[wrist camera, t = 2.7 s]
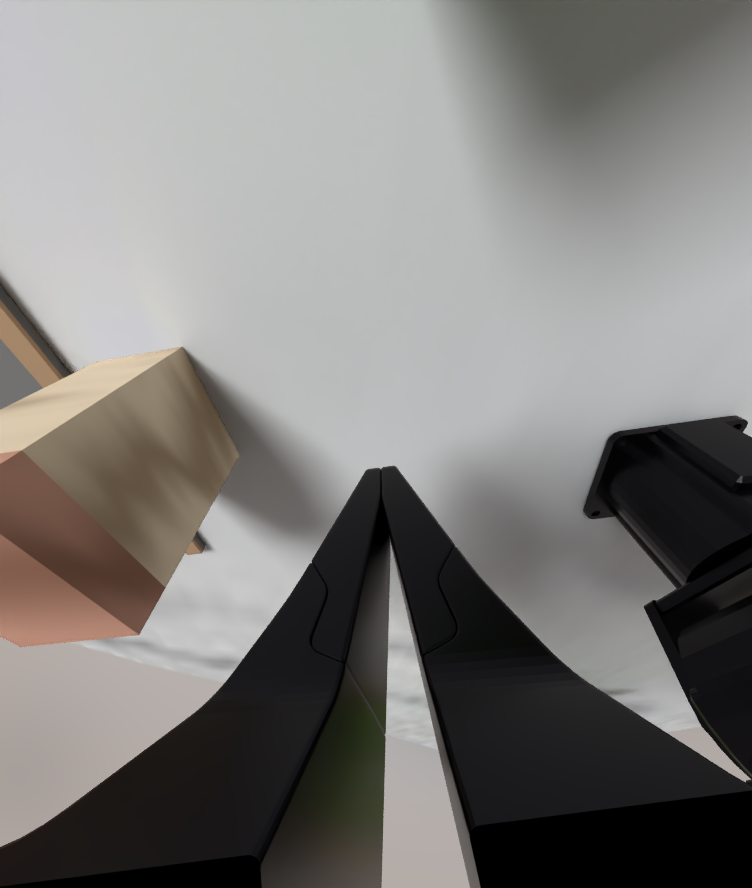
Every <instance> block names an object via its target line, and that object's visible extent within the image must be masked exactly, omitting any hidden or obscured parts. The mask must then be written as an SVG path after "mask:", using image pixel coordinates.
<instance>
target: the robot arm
mask: <svg viewBox="0 0 752 888" xmlns="http://www.w3.org/2000/svg"><path fill="white" fill-rule="evenodd" d="M747 424H748V422H747V421H746V420H744V419H742V418H740V417H738V416H727V417H720V418H712V419H705V420H698V421H691V422H683V423H676V424H669V425H661V426H654V427H647V428H639V429H632V430H625V431H619V432H616V433H614V434H613V435H612V436H611V437H610V438H609V440H608V442H607V445H606V448H605V451H604V453H603V456H602V459H601V462H600V465H599V468H598V471H597V473H596V476H595V479H594V482H593V485H592V488H591V491H590V493H589V496H588V499H587V502H586V505H585V508H584V513H585V514H586V515H587V517H588V518H590V519H597V518H605V517H614V516H615V517H616V518H617V519H618V520H619V522H620V523H621V524H622V525H623V526H624V527H625V529H626V530H627V531H628V532H629V533H630V535H631V536H632V537H633V538H634V539H635V540H636V542H637V543H638V544H639V545H640V546H641V547H642V549H643V550H644V551H645V552H646V553H647V554H648V556H649V557H650V558H651V559H652V560H653V561H654V563H655V564H656V565H657V566H658V567H659V568H660V570H661V571H662V572H663V573H664V574H665V575H666V577H667V578H668V579H669V580H670V581H671V582H672V584H673V585H674V586H675V587H676V588H677V589H676V590H674V591H673V592H671V593H669V594H668V595H666V596H664V597H663V598H661V599H659V600H658V601H656V600H653V601H651V602H649V603H648V604H646V605H644V609H645V611H646V613H647V615H648V617H649V619H650V621H651V623H652V626H653V628H654V630H655V632H656V634H657V636H658V638H659V640H660V642H661V644H662V647H663V649H664V651H665V653H666V655H667V657H668V659H669V661H670V663H671V666H672V668H673V670H674V672H675V674H676V676H677V678H678V680H679V682H680V684H681V687H682V689H683V691H684V693H685V695H686V697H687V699H688V701H689V703H690V705H691V707H692V709H693V711H694V712H695V714H696V716H697V718H698V720H699V722H700V724H701V726H702V727H703V728H704V730H705V731H706V732H707V733H708V734H709V735H710V736H711V737H712V738H713V740H714V741H715V742H716V743H717V745H718V746H719V747H720V749H721V750H722V751H723V752H724V753H725V754H726V755H727V756H728V757H729V758H730V759H731V760H732V761H733V763H734V764H736V766H738V767H739V768H740V769H741V770H742V771H743V772H744V773H745V774H746V775H747V776H748V777H749V778H751V779H752V437H750V436H748V435H746V434H744V433H743V431H744V430H745V428H746V427H747ZM390 540H391V545H392V550H393V554H394V559H395V563H396V567H397V572H398V576H399V580H400V585H401V589H402V593H403V598H404V602H405V606H406V611H407V615H408V619H409V624H410V628H411V632H412V637H413V641H414V645H415V650H416V654H417V658H418V663H419V667H420V671H421V676H422V680H423V684H424V689H425V693H426V698H427V702H428V706H429V711H430V715H431V719H432V724H433V728H434V732H435V737H436V741H437V745H438V750H439V754H440V758H441V763H442V767H443V771H444V776H445V780H446V784H447V788H448V792H449V797H450V802H451V806H452V810H453V814H454V819H455V823H456V828H457V832H458V836H459V841H460V845H461V850H462V854H463V858H464V862H465V867H466V871H467V875H468V880H469V884H470V888H752V780H747V781H746V783H745V782H744V781H742V780H740V779H738V778H737V777H735V776H733V775H732V774H730V773H728V772H727V771H725V770H723V769H722V768H720V767H719V766H717V765H716V764H714V763H713V762H711V761H709V760H708V759H706V758H705V757H703V756H702V755H700V754H699V753H697V752H695V751H694V750H692V749H691V748H689V747H688V746H686V745H685V744H683V743H681V742H679V741H678V740H677V739H675V738H674V737H672V736H670V735H669V734H667V733H666V732H664V731H663V730H661V729H660V728H658V727H657V726H655V725H653V724H652V723H650V722H649V721H647V720H646V719H644V718H643V717H641V716H639V715H638V714H636V713H635V712H633V711H632V710H630V709H629V708H627V707H625V706H624V705H622V704H621V703H619V702H618V701H616V700H615V699H613V698H611V697H610V696H608V695H607V694H605V693H604V692H602V691H600V690H599V689H597V688H596V687H594V686H593V685H591V684H590V683H588V682H587V681H585V680H584V679H583V678H581V677H580V676H578V675H577V674H576V673H574V672H573V671H572V670H571V669H570V668H569V667H567V666H566V665H565V664H564V663H563V662H562V661H561V660H559V659H558V658H557V657H556V656H555V655H554V654H553V653H552V652H551V651H550V650H549V649H548V648H547V647H546V646H545V645H544V644H543V643H542V642H541V641H540V640H539V639H538V638H537V637H536V635H535V634H534V633H533V632H532V631H531V630H530V629H529V628H528V627H527V626H526V625H525V624H524V623H523V622H522V621H521V620H520V619H519V618H518V617H517V616H516V615H515V614H514V613H513V612H512V610H511V609H510V608H509V607H508V606H507V605H506V604H505V603H504V602H503V601H502V600H501V599H500V598H499V597H498V596H497V595H496V594H495V593H494V592H493V590H492V589H491V588H490V587H489V586H488V585H487V584H486V583H485V582H484V581H483V579H482V578H481V577H480V576H479V575H478V574H477V572H476V571H475V570H474V569H473V567H472V566H471V565H470V564H469V562H468V561H467V560H466V559H465V557H464V556H463V555H462V553H461V552H460V551H459V549H458V548H457V547H455V544H454V543H453V542H452V540H451V539H450V538H449V536H448V535H447V534H446V532H445V531H444V530H443V528H442V527H441V526H440V524H439V523H438V522H437V520H436V519H435V518H434V516H433V515H432V514H431V512H430V511H429V510H428V508H427V507H426V506H425V504H424V503H423V502H422V500H421V499H420V498H419V496H418V495H417V494H416V492H415V491H414V490H413V488H412V487H411V486H410V485H409V483H408V482H407V481H406V479H405V478H404V477H403V475H402V474H401V473H400V471H399V470H398V469H397V467H396V466H388V467H383V468H382V469H380V468H373V469H367V470H366V471H365V473H364V475H363V476H362V478H361V480H360V481H359V483H358V485H357V486H356V488H355V490H354V491H353V493H352V495H351V496H350V498H349V500H348V501H347V503H346V505H345V506H344V508H343V510H342V511H341V513H340V514H339V516H338V518H337V519H336V521H335V523H334V524H333V526H332V528H331V529H330V531H329V533H328V534H327V536H326V538H325V539H324V541H323V543H322V544H321V546H320V548H319V549H318V551H317V553H316V554H315V556H314V558H313V559H312V563H310V564H309V566H308V567H307V569H306V571H305V572H304V574H303V576H302V577H301V579H300V580H299V582H298V584H297V585H296V587H295V588H294V590H293V591H292V593H291V594H290V596H289V597H288V599H287V600H286V602H285V603H284V604H283V606H282V607H281V609H280V610H279V611H278V613H277V614H276V616H275V617H274V618H273V620H272V621H271V622H270V624H269V625H268V626H267V628H266V629H265V630H264V632H263V633H262V634H261V636H260V637H259V638H258V640H257V641H256V643H255V644H254V645H253V647H252V648H251V649H250V651H249V652H248V653H247V655H246V656H245V657H244V659H243V660H242V661H241V663H240V664H239V665H238V667H237V668H236V669H235V671H234V672H233V673H232V675H231V676H230V677H229V678H228V680H227V681H226V682H225V683H224V684H223V686H222V687H221V688H220V689H219V690H218V691H217V692H216V693H215V694H214V695H213V696H212V697H211V698H210V700H208V701H207V702H206V703H205V704H204V705H203V706H202V707H201V708H200V709H199V710H197V711H196V712H195V713H194V714H192V715H191V716H190V717H188V718H187V719H186V720H184V721H183V722H182V723H180V724H179V725H178V726H176V727H175V728H174V729H172V730H171V731H170V732H168V733H167V734H166V735H165V736H163V737H162V738H161V739H159V740H158V741H156V742H155V743H154V744H152V745H151V746H150V747H148V748H147V749H146V750H144V751H143V752H142V753H140V754H139V755H138V756H136V757H135V758H134V759H132V760H131V761H130V762H128V763H127V764H126V765H124V766H123V767H122V768H120V769H119V770H118V771H116V772H115V773H114V774H112V775H111V776H110V777H108V778H107V779H106V780H104V781H103V782H102V783H100V784H99V785H98V786H96V787H95V788H93V789H92V790H91V791H89V792H88V793H87V794H86V795H84V796H83V797H81V798H80V799H79V800H77V801H76V802H75V803H73V804H72V805H71V806H69V807H68V808H67V809H65V810H64V811H62V812H61V813H60V814H58V815H57V816H55V817H54V818H52V819H51V820H49V821H48V822H47V823H45V824H44V825H42V826H40V827H39V828H37V829H35V830H34V831H32V832H30V833H29V834H27V835H25V836H23V837H21V838H20V839H17V840H15V841H13V842H11V843H8V844H6V845H4V846H2V847H0V888H381V882H382V845H383V843H382V842H383V809H384V772H385V733H386V697H387V660H388V623H389V586H390Z"/></svg>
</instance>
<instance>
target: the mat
mask: <svg viewBox="0 0 752 888" xmlns="http://www.w3.org/2000/svg"><path fill="white" fill-rule="evenodd" d="M69 375H71V374H70V373H69V371H68V370H67V369H66V368H65V366H64V365H63V364H62V363H61V361H60V360H59V359H58V357H57V356H56V355H55V354H54V352H53V351H52V350H51V349H50V347H49V346H48V345H47V343H46V342H45V341H44V340H43V338H42V337H41V336H40V335H39V333H38V332H37V331H36V329H35V328H34V327H33V326H32V324H31V323H30V322H29V321H28V319H27V318H26V317H25V315H24V314H23V313H22V312H21V310H20V309H19V308H18V307H17V305H16V304H15V303H14V301H13V300H12V299H11V298H10V296H9V295H8V294H7V293H6V291H5V290H4V289H3V287H2V286H1V285H0V410H1V409H3V408H5V407H7V406H9V405H11V404H13V403H15V402H17V401H19V400H21V399H23V398H25V397H27V396H29V395H31V394H33V393H35V392H37V391H39V390H41V389H43V388H45V387H47V386H49V385H51V384H53V383H55V382H57V381H59V380H61V379H63V378H65V377H67V376H69ZM204 548H205V544H204V543H203V542H202V541H201V539H200V538H199V537H198V535H197V534H195V536H194V538H193V539H192V541H191V543H190V545H189V547H188V548H187V550H186V552H185V553H186V554H187V555H191V554H200V553H202V552H203V550H204Z"/></svg>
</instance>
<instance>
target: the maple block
mask: <svg viewBox="0 0 752 888" xmlns="http://www.w3.org/2000/svg"><path fill="white" fill-rule="evenodd" d="M239 456H240V455H239V453H238V451H237V449H236V447H235V445H234V443H233V441H232V439H231V438H230V436H229V434H228V432H227V430H226V428H225V426H224V424H223V422H222V421H221V419H220V417H219V415H218V413H217V411H216V409H215V407H214V406H213V404H212V402H211V400H210V398H209V396H208V394H207V392H206V390H205V389H204V387H203V385H202V383H201V381H200V379H199V377H198V375H197V373H196V372H195V370H194V368H193V366H192V364H191V362H190V360H189V358H188V356H187V355H186V353H185V351H184V349H183V347H178V348H172V349H167V350H161V351H155V352H149V353H144V354H138V355H132V356H126V357H120V358H115V359H109V360H103V361H97V362H95V363H93V364H91V365H89V366H87V367H85V368H83V369H81V370H79V371H77V372H75V373H73V374H71V375H69V376H67V377H65V378H63V379H61V380H59V381H57V382H55V383H53V384H51V385H49V386H47V387H45V388H43V389H41V390H39V391H37V392H35V393H33V394H31V395H29V396H27V397H25V398H23V399H21V400H19V401H17V402H15V403H13V404H11V405H9V406H7V407H5V408H3V409H1V410H0V637H2V638H4V639H6V640H8V641H10V642H12V643H14V644H16V645H18V646H20V647H25V646H35V645H45V644H54V643H65V642H74V641H84V640H94V639H104V638H114V637H124V636H133V635H139V634H140V632H141V630H142V629H143V627H144V625H145V623H146V622H147V620H148V618H149V616H150V614H151V613H152V611H153V609H154V607H155V605H156V604H157V602H158V600H159V598H160V597H161V595H162V593H163V591H164V589H165V588H166V586H167V584H168V582H169V581H170V579H171V577H172V575H173V573H174V572H175V570H176V568H177V566H178V564H179V563H180V561H181V559H182V557H183V556H184V554H185V552H186V550H187V548H188V547H189V545H190V543H191V541H192V539H193V538H194V536H195V534H196V532H197V531H198V529H199V527H200V525H201V523H202V522H203V520H204V518H205V516H206V515H207V513H208V511H209V509H210V507H211V506H212V504H213V502H214V500H215V498H216V497H217V495H218V493H219V491H220V490H221V488H222V486H223V484H224V482H225V481H226V479H227V477H228V475H229V474H230V472H231V470H232V468H233V466H234V465H235V463H236V461H237V459H238V457H239Z"/></svg>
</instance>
